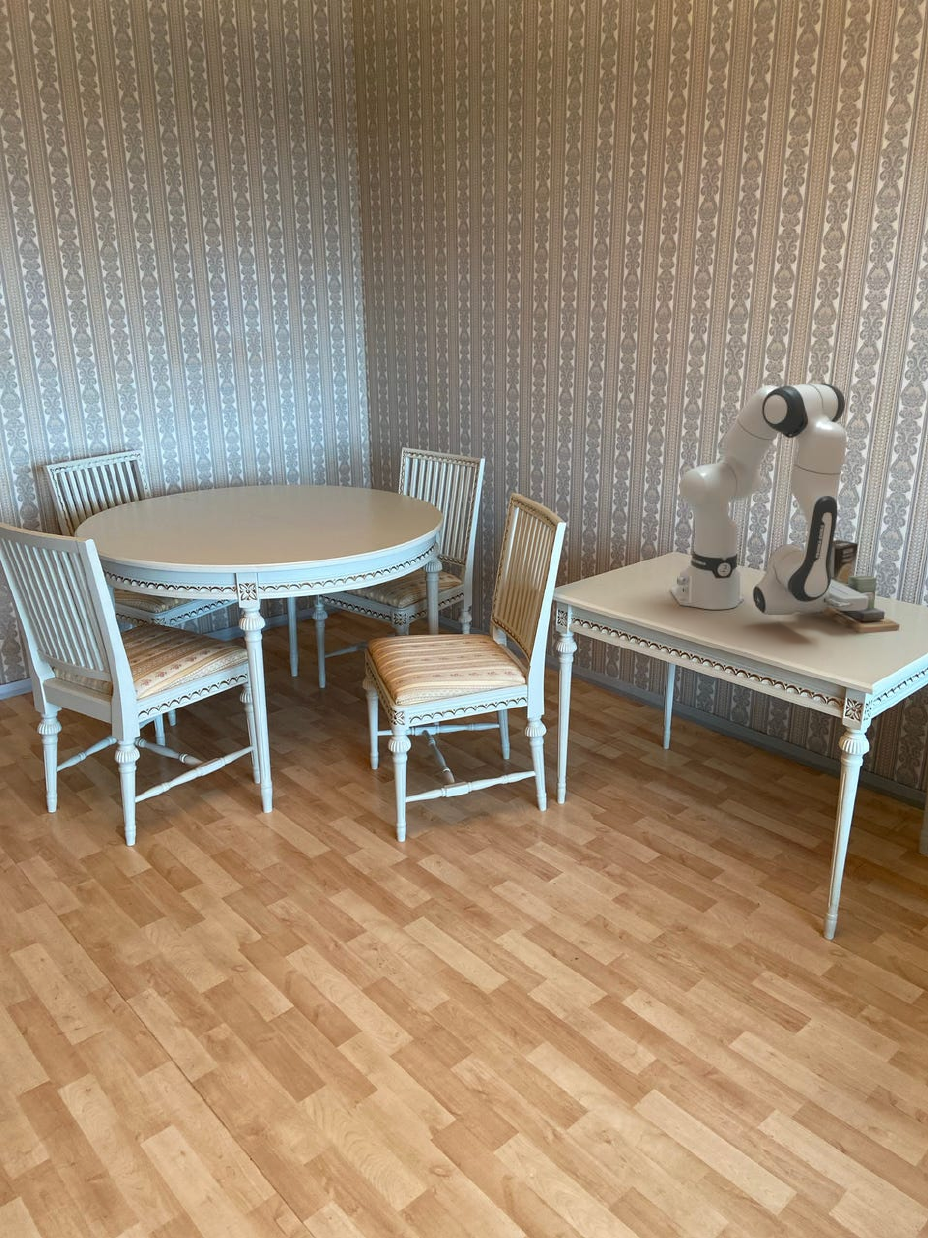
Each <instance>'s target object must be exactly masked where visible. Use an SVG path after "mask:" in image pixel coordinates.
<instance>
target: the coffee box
mask: <svg viewBox="0 0 928 1238" xmlns="http://www.w3.org/2000/svg"><path fill="white" fill-rule="evenodd" d="M858 545H859V543H857V542H851V541H845V540H842V539H841V540H840V539H837V540H833V546H832V552H831V558H830V571H831V579H832V580H834V581H836V582H839V583H842V584H848V581H849V576H855V569H856V560H857V555H858Z"/></svg>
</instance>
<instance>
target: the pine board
mask: <svg viewBox="0 0 928 1238" xmlns="http://www.w3.org/2000/svg"><path fill="white" fill-rule="evenodd" d="M821 613H822V614H824V615H825V616H827V617H828V618H831V619H833V620H835V621H836V622H838V623H840V624H842V625H844V626H846V627H848V628H850V629H851V630H853V631H855V632H856V633H857V634H870V633H880V632H889V631H888V630H893V631H897V630H896V629H899V630H900V626H901V625H900V623H898V622H895V621H893V620H891V619H889V618H888V617H886V616H884V619H883V620H872V621H861V620H859V619H856V618H854V617H852V616H849V615H847V614H845V613H842V612H840V611H838V610H836V609H835V608H834V607H832V606H828V607H827V609H826V610H825V611H823V612H821Z"/></svg>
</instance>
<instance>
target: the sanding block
mask: <svg viewBox="0 0 928 1238" xmlns="http://www.w3.org/2000/svg"><path fill="white" fill-rule="evenodd" d="M848 587H849V588H851V589H853V590H855V591H858V592H860V593H864V592H868V591H869V592H872V593H873V598H872V599H871V600H868V606H867V609H866V610H862V611H841V610H838V609H836V610H838V611H840V612H842V613H845V614H847V615H849V616H852V617H854V618H856V619H859V620H861V621H872V620H883V619H884V617H885V615H886V613H885V611H884V610H882V609H878V608H876V607H875V599H876V589H877V578H876V577H873V576H872V575H869V574H859V575H855V574H854V576H849V581H848Z"/></svg>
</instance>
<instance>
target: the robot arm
mask: <svg viewBox="0 0 928 1238" xmlns="http://www.w3.org/2000/svg"><path fill="white" fill-rule="evenodd" d="M845 407H846V400H845V397H844V394H843V393H842V391H841V390H840V388H838V387H836V386H835V385H832V384H829V383H823V382H822V383H810V382H807V383H804V382H803V383H800V384H799V383H798V384H793V385H783V386H776V385H771V384H770V385H769V384H768V385H763V386H761V387H760V388H758V389H757V391H756V392H754V394H753V395H751V397H750V398H749V399H748V401H746V403H745V404H744V406H743V407H742V409H741V410H740V412H739V413H738V415H737V416H736V418H735V420H734V421H733V422H732V424H731V426H730V428H729V429H728V431H727V432H726V434H725V436H724V437H723V447H724V450H725V454H724V456H723V458H722V459H721V460H720V461H718V462H715V463H709V464H703V465H697V466H696V467H694V468H692V469H689V470H687V471H686V472H685V473H683V474H682V476H681V478H680V481H679V488H678V489H679V494H680V497H681V498H682V500H683V501H684V502H685V503H686V504H687V505H688V506H689V507H690V510H691V512H692V514H693V518H694V522H695V542H694V543H695V545H694V551H691V553H692V554H691V560H690V564H689V565H688V566H687V567H685V568H684V569H683V570H682V571H681V572H680V573H679V576H678V577H677V578H676V584H677V585H674V586H671V587H670V588H669V591H670V593H671V594H672V596H673V597H674V598H675V600H676V601H677V602H678V604H679V605H680V606H685V607H694V608H697V609H699V608H700V609H705V610H729V609H733V608H735V607H737V606H739V605H740V603H742V602H744V600H745V598H744V596H743V595H741V573H740V571H739V570H738V569H737V568H738V561H739V559H738V554H737V548H738V547H737V545H738V536H739V535H738V534H739V533H738V532H739V528H738V524H737V523H736V522H735V521H734V520H733V519H731V518H730V515H729V511H728V503H733V502H739V501H742V500H744V499H748V498H749V497H751V496H752V495H754V494H756V493H757V492H758V490H759V489H760V486H761V483H762V481H761V479H762V477H761V472H760V470H759V468H760V466H761V462H762V460H763V458H764V456H765V455H766V453H767V452H768V450H769V448H770V447H771V445H772V444H773V443H774V440H775V439H776V438H777V436H778V434H779V433H781V434H782V435H783V436H784V437H785V438H788V439H794V438H796V440H797V452H796V455H795V459H794V463H793V466H792V470H791V475H790V490H791V493H792V495H793V496H794V499H796V502H798V504H799V506H800V508H801V510H802V511H803V513H804V516H805V519H806V523H807V531H806V539H805V544H804V550H803V549H802V548H800V547H799V546H797V545H796V544H792V543H790V544H784V545H782V546H779V547H777V548H776V549H775V550H774V551H773V552H772V553H771V555H770V557H769V560H768V566H767V569H766V570H765V573H764V574H763V577H762V578H761V580H760V581H759V582H758V583H757V584H756V585H755V586H754V588H753V590H752V597H753V603H754V604H755V607H756V608H757V609H758V611H759V612H760V613H762V614H763V615H766V616H787V615H794V614H796V613H799V614H813V613H814V614H815V613H822V612H823V611H825V610H826V609H827V607H828V606H832V607H834V608H835V609H838V610H841V611H862V610H866V609H867V606H868V600H871V599H872V598H873V593H872V592H869V591H868V592H864V593H860V592H858V591H855V590H853V589H851V588H849V587H848V584H842V583H839V582H836V581H834V580H832V579H831V571H830V558H831V552H832V546H833V541H835V533H836V528H837V527H836V526H837V521H838V490H839V484H840V478H841V474H842V470H843V466H844V462H845V456H846V450H847V449H846V448H847V432H846V430H845V428H844V427H843V426H842V425H841V424H839V423H837V421H839V420H840V419H841V417H842V416H843V414H844V411H845Z"/></svg>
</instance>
